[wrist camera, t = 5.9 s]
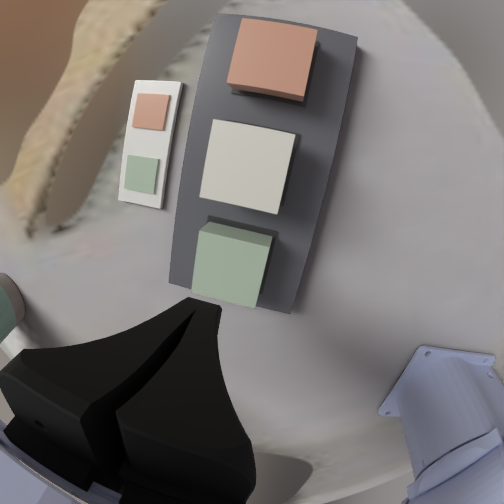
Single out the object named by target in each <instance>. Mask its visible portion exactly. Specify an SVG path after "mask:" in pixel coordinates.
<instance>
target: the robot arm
mask: <svg viewBox="0 0 504 504" xmlns="http://www.w3.org/2000/svg"><path fill="white" fill-rule="evenodd" d="M221 312H222V308H221V307H220V306H219V305H216V304H212V303H208V302H205V301H201V300H197V299H194V298H190V297H187V298H186V299H184V300H182V301H180V302H179V303H177V304H176V305H174V306H172V307H171V308H169V309H167V310H166V311H164V312H162V313H160V314H158V315H157V316H155V317H153V318H151V319H149V320H147V321H145V322H143V323H141V324H139V325H137V326H135V327H133V328H131V329H128V330H126V331H123V332H121V333H118V334H115V335H112V336H109V337H106V338H103V339H99V340H95V341H91V342H87V343H83V344H78V345H72V346H65V347H58V348H44V349H23V350H22V351H21V352H20V353H19V354H18V355H17V356H16V357H15V358H13V359H12V360H11V361H10V362H9V363H8V364H7V365H6V366H5V367H4V368H3V369H2V370H1V371H0V388H1V391H2V393H3V395H4V397H5V399H6V401H7V402H8V404H9V406H10V408H11V410H12V411H13V413H14V415H15V417H14V418H13V419H12V420H11V422H10V423H9V424H8V425H6V424H5V423H4V422H3V421H1V420H0V504H81V503H80V502H78V501H77V500H75V499H74V498H72V497H71V496H69V495H68V494H66V493H64V492H63V491H61V490H60V489H58V488H57V487H55V486H54V485H52V484H51V483H49V482H48V481H46V480H45V479H43V478H42V477H40V476H39V475H38V474H36V473H35V472H33V471H32V470H31V469H29V468H28V467H26V466H25V465H24V464H22V463H21V462H20V461H19V460H18V459H20V460H21V461H22V462H24V463H25V464H26V465H28V466H29V467H30V468H32V469H33V470H34V471H36V472H38V473H39V474H40V475H42V476H43V477H45V478H46V479H48V480H49V481H51V482H52V483H54V484H56V485H57V486H59V487H60V488H62V489H63V490H65V491H67V492H68V493H70V494H72V495H74V496H75V497H77V498H79V499H81V500H83V501H85V502H86V503H88V504H246V501H247V499H248V498H249V496H250V495H251V493H252V492H253V490H254V488H255V485H256V468H255V460H254V454H253V449H252V444H251V441H250V439H249V437H248V435H247V434H246V432H245V430H244V428H243V426H242V425H241V423H240V421H239V419H238V416H237V414H236V412H235V410H234V408H233V405H232V402H231V400H230V397H229V394H228V392H227V389H226V386H225V382H224V379H223V375H222V370H221V365H220V360H219V352H218V340H217V335H218V329H219V324H220V318H221ZM428 351H429V352H428ZM426 352H428V353H426ZM425 353H426V354H425ZM495 360H496V357H495V355H493V354H484V353H475V352H467V351H459V350H452V349H445V348H438V347H431V346H420V347H419V348H418V349H417V350H416V352H415V354H414V355H413V357H412V359H411V360H410V362H409V364H408V365H407V367H406V369H405V370H404V372H403V373H402V375H401V377H400V378H399V380H398V381H397V383H396V384H395V386H394V387H393V389H392V390H391V392H390V393H389V395H388V396H387V398H386V399H385V401H384V402H383V404H382V405H381V406H380V408H379V409H378V414H379V415H380V416H393V417H401V421H402V425H403V429H404V433H405V437H406V441H407V445H408V450H409V454H410V459H411V463H412V468H413V473H414V478H415V482H413V483H412V484H410V485H408V486H407V491H408V498H406V499H405V500H404V501H402V503H401V504H504V386H503V384H502V382H501V381H500V379H499V378H498V376H497V374H496V373H495V371H494V370H493V368H492V365H493V364H494V362H495ZM15 456H16V457H17V458H18V459H17V458H16V457H15Z"/></svg>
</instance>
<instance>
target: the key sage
mask: <svg viewBox="0 0 504 504" xmlns="http://www.w3.org/2000/svg"><path fill="white" fill-rule="evenodd" d="M272 237H273V236H269V235H264V234H260V233H256V232H252V231H247V230H243V229H239V228H235V227H230V226H226V225H222V224H217V223H213V222H208V223H207V224H206V225H205V226H204V227H203V228H202V229H200V230H199V236H198V243H197V250H196V257H195V265H194V272H193V280H192V288H191V292H192V293H196V294H199V295H203V296H207V297H210V298H214V299H218V300H222V301H226V302H230V303H233V304H237V305H241V306H245V307H249V308H253V309H255V306H256V302H257V299H258V295H259V291H260V287H261V283H262V278H263V274H264V270H265V266H266V262H267V258H268V254H269V249H270V245H271V241H272Z"/></svg>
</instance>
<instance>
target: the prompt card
mask: <svg viewBox="0 0 504 504" xmlns="http://www.w3.org/2000/svg"><path fill="white" fill-rule="evenodd" d="M182 87H183V83H182V82H174V81H152V80H136V81H135V85H134V90H133V95H132V100H131V106H130V111H129V116H128V122H127V129H126V135H125V142H124V150H123V157H122V166H121V175H120V186H119V198H118V200H121V201H126V202H131V203H136V204H140V205H145V206H150V207H154V208H159V209H161V208H163V201H164V193H165V185H166V178H167V171H168V164H169V157H170V151H171V145H172V139H173V133H174V127H175V122H176V116H177V111H178V106H179V101H180V96H181V91H182Z"/></svg>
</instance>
